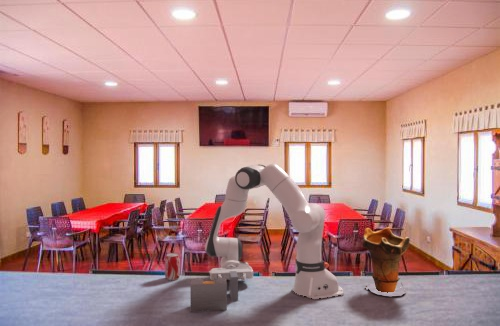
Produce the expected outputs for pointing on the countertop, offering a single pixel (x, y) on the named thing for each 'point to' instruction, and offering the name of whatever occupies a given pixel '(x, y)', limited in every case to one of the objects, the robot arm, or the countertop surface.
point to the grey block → (233, 286)
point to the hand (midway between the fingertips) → (232, 279)
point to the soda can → (172, 266)
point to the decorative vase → (385, 256)
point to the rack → (208, 295)
